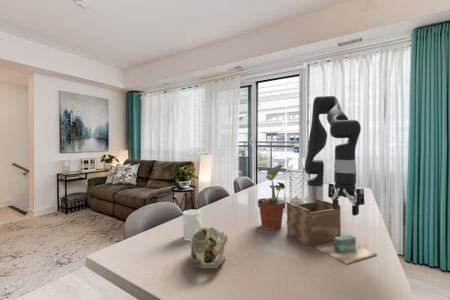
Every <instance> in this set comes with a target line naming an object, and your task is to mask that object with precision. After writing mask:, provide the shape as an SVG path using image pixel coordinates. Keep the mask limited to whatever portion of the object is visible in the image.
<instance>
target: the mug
mask: <svg viewBox="0 0 450 300" xmlns="http://www.w3.org/2000/svg"><path fill="white" fill-rule="evenodd" d="M201 216H202V215H201V211H200V210H199V209H187V210H184V211H183V212H182V225H183V226H182V227H183V228H182V229H183V231H182V233H183V235H182V238H183V237H184V238H185V239H189V240H192V238H193V236H194V235H195V234H196V232H198V231H199V230H200V229H202V225H201V221H202V219H201V218H202V217H201Z"/></svg>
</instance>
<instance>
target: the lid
mask: <svg viewBox="0 0 450 300" xmlns="http://www.w3.org/2000/svg"><path fill="white" fill-rule="evenodd" d="M356 239H357V238H356V236H354V235H351V234H345V235H341V236H340V237H336V238H334V241H333V242H329V243H325V244H321V245H316V246H315V249H318V250H319V251H321V252H323V253H324V254H326V255H328V256H330V257H332V258H333V259H335V260H336V261H337V260H338V261H339V262H341V263H343V264H344V265H350V264H353V263H356V262H360V261H362V260H363V261H364V260H366V259H369V257H370V258H373V257H375V256H377V255H378V254H377V253H376V252H373V251H372V250H370V249H367V248H365V247H363V246H360V245H357V243H356V242H357V241H356Z"/></svg>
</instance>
